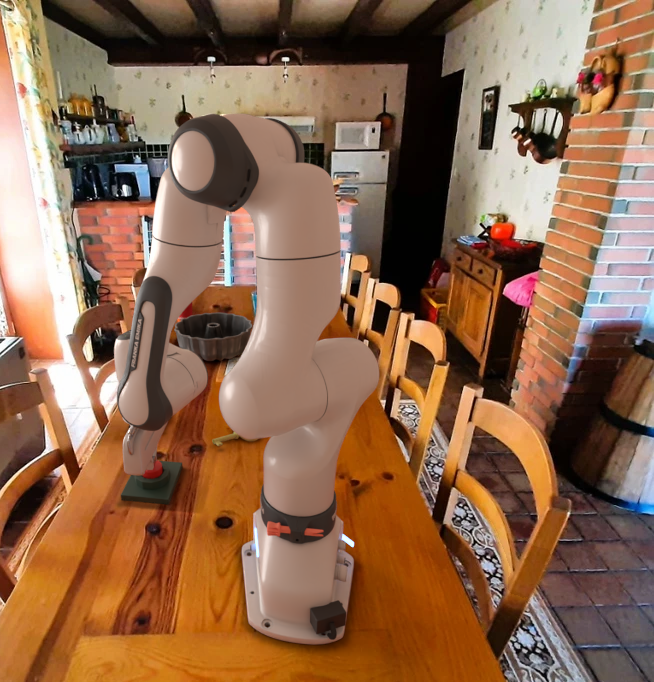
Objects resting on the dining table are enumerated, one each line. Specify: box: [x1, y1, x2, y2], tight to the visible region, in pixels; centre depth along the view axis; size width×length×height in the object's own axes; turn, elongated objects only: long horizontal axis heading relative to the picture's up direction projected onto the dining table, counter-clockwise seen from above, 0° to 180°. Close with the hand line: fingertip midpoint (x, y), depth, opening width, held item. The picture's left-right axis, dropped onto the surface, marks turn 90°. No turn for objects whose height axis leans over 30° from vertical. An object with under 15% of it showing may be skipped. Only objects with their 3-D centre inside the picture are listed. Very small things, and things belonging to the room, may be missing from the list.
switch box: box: [120, 460, 184, 506], centre depth 102 cm, size 12×10×4 cm
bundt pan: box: [174, 312, 254, 362], centre depth 165 cm, size 26×26×10 cm
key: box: [211, 431, 259, 447], centre depth 116 cm, size 7×12×2 cm, turn 138°
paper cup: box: [176, 301, 193, 323], centre depth 188 cm, size 8×8×14 cm
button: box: [142, 459, 163, 479], centre depth 101 cm, size 4×4×2 cm
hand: (151, 465), depth 100 cm, fingers closed
